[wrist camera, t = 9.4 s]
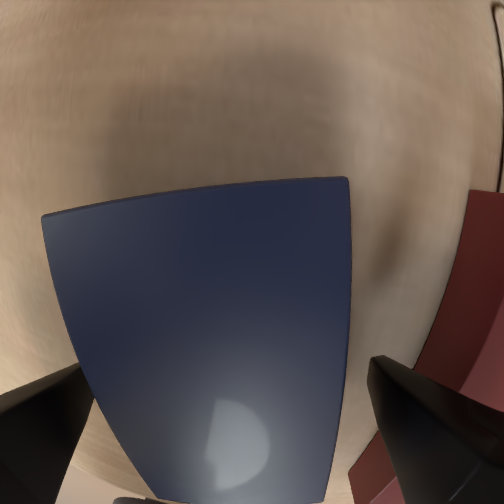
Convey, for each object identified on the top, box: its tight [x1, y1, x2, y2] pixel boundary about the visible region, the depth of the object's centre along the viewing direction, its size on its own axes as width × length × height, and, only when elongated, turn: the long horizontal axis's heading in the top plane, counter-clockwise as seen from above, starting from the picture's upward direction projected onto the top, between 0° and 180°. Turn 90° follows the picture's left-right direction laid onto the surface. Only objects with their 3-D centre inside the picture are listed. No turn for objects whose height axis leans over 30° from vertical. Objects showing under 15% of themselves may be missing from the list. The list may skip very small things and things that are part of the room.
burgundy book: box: [348, 190, 504, 504], centre depth 8 cm, size 15×11×3 cm
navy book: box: [41, 176, 352, 504], centre depth 8 cm, size 11×7×4 cm, turn 5°
